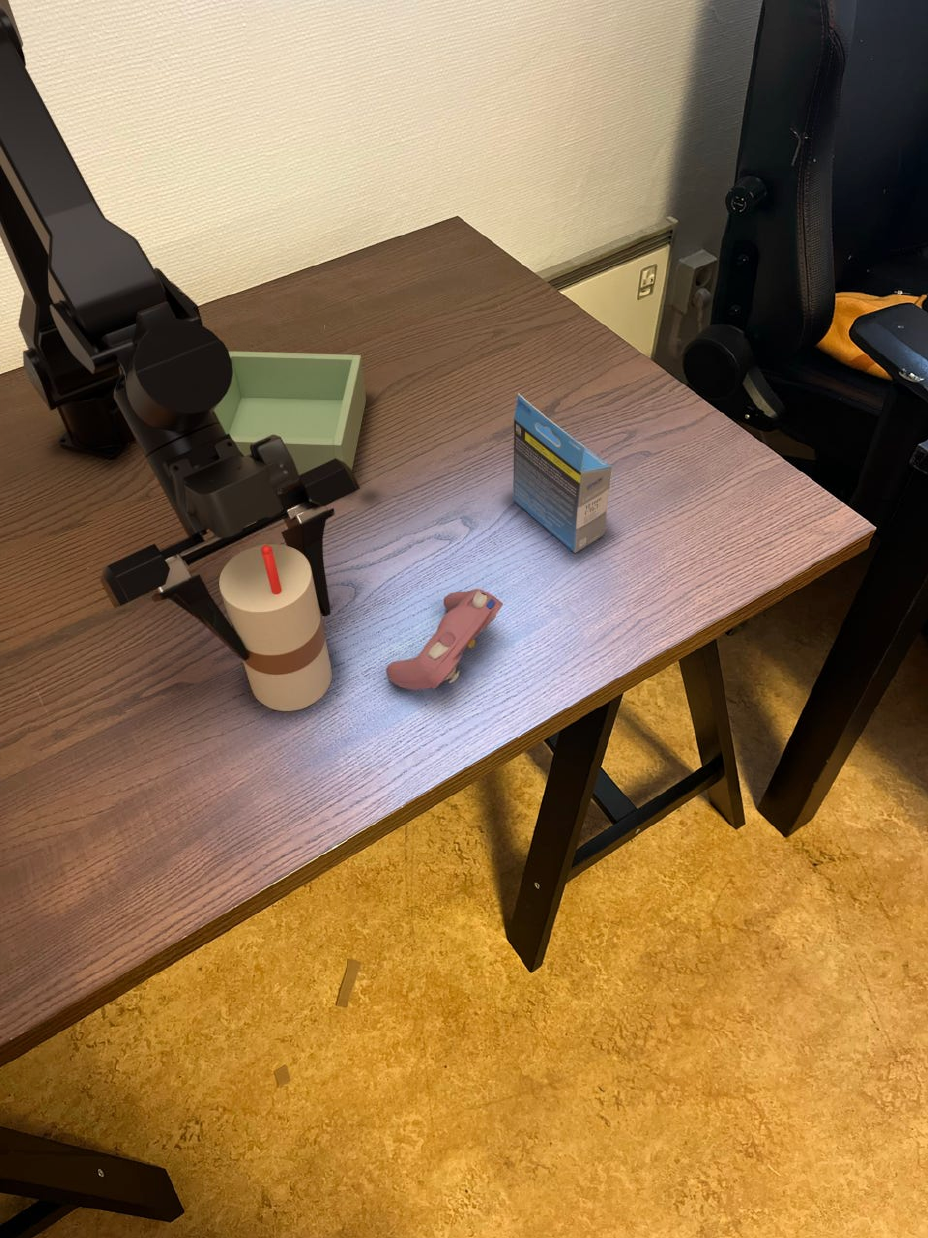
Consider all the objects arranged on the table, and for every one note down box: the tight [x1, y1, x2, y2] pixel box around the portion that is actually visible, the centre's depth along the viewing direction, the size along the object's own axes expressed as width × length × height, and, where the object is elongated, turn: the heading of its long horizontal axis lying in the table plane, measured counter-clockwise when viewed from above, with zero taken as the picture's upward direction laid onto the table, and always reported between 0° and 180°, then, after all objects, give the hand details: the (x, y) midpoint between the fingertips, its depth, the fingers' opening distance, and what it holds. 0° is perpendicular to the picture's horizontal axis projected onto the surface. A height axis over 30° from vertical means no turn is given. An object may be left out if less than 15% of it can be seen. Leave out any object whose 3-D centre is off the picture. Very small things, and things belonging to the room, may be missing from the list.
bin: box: [214, 351, 367, 475], centre depth 91 cm, size 14×14×6 cm
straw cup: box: [218, 543, 333, 712], centre depth 68 cm, size 6×6×16 cm
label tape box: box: [512, 392, 612, 554], centre depth 81 cm, size 9×4×12 cm, turn 37°
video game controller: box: [386, 588, 504, 691], centre depth 74 cm, size 10×5×7 cm, turn 148°
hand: (287, 637), depth 69 cm, fingers closed on straw cup, 6 cm apart
